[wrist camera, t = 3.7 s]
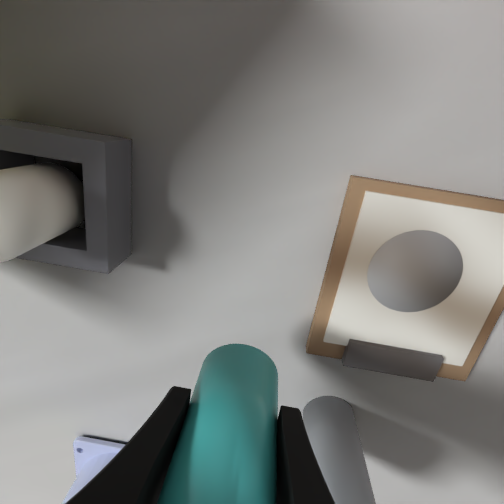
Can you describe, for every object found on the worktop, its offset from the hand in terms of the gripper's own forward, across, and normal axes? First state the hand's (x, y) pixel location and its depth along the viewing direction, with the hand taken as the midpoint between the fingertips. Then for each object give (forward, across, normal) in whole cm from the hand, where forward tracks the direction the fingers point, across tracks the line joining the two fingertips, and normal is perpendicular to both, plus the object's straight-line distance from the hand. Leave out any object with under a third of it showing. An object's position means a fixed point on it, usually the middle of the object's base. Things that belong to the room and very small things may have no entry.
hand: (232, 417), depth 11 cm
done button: (+6, +10, -5) cm, 13 cm away
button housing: (+7, +10, -5) cm, 13 cm away
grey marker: (+7, -6, +7) cm, 12 cm away
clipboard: (+7, -8, -3) cm, 11 cm away
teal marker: (+2, 0, 0) cm, 2 cm away
